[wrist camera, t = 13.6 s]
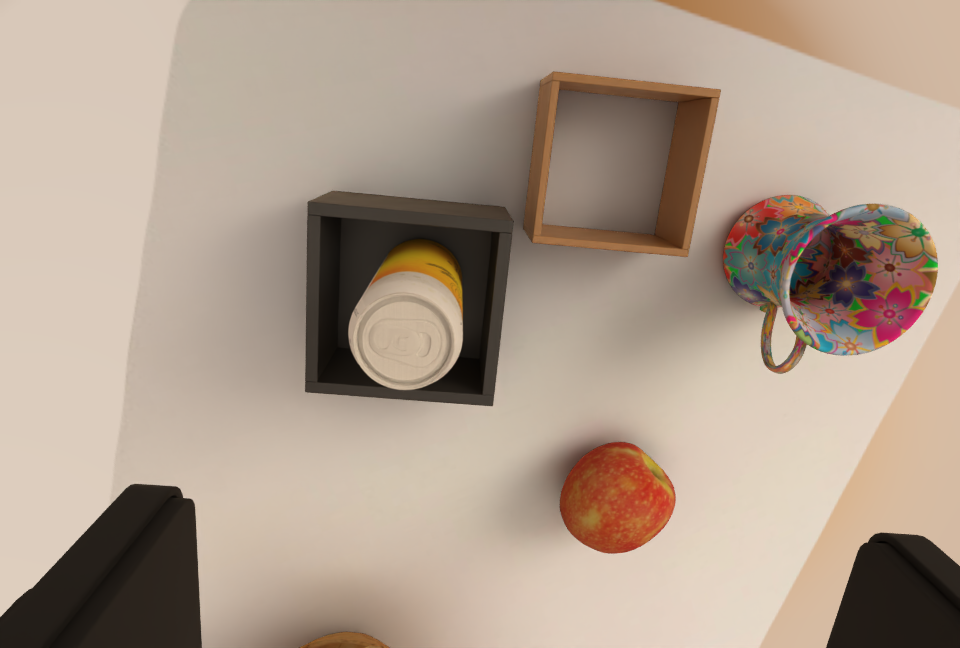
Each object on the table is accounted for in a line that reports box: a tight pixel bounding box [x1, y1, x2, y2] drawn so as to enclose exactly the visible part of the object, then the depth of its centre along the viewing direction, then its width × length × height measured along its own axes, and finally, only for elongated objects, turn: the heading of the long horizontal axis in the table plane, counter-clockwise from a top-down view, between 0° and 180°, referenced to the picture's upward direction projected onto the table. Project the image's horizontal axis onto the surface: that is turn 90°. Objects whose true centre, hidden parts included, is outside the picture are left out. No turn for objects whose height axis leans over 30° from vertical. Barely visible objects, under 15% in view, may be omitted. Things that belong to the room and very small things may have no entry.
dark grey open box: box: [305, 191, 514, 406], centre depth 43 cm, size 13×13×8 cm
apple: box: [560, 442, 676, 553], centre depth 48 cm, size 8×8×8 cm
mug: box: [723, 195, 938, 374], centre depth 42 cm, size 12×9×11 cm
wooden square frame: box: [523, 72, 721, 257], centre depth 41 cm, size 10×10×6 cm
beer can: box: [348, 239, 463, 390], centre depth 39 cm, size 6×6×15 cm
